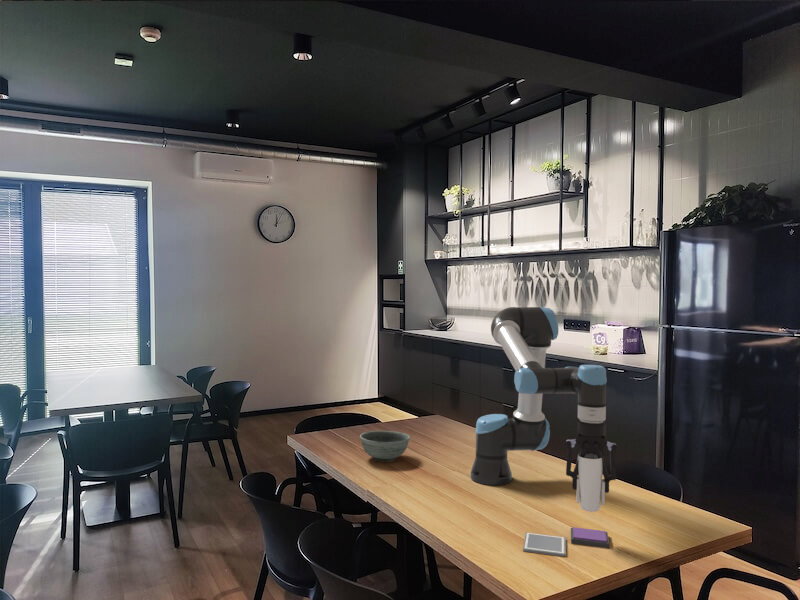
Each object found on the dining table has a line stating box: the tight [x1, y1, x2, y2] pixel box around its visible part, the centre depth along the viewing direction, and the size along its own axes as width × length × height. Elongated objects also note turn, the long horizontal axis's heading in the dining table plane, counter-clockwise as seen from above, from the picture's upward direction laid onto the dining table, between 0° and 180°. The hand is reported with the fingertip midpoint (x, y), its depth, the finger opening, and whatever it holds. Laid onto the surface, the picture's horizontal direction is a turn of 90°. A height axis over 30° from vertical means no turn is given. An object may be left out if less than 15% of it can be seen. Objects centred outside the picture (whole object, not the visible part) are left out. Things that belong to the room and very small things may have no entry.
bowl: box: [359, 430, 411, 463], centre depth 236 cm, size 21×21×10 cm
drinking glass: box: [577, 453, 603, 513], centre depth 161 cm, size 7×7×15 cm
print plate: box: [522, 532, 567, 558], centre depth 157 cm, size 11×11×1 cm
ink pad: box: [570, 527, 610, 549], centre depth 161 cm, size 10×8×2 cm
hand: (590, 502), depth 161 cm, fingers closed on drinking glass, 6 cm apart
